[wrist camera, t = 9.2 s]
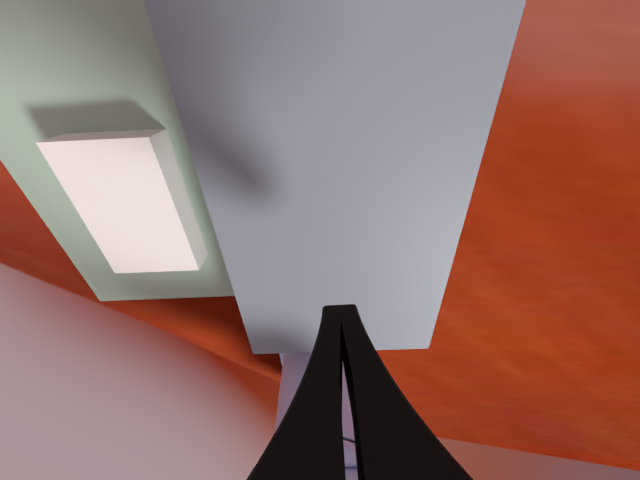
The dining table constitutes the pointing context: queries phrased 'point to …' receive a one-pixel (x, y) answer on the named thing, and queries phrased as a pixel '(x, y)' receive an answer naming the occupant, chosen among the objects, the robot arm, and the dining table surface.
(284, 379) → the robot arm
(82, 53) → the mat
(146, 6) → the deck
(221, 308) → the dining table surface
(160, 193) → the pale pink block
